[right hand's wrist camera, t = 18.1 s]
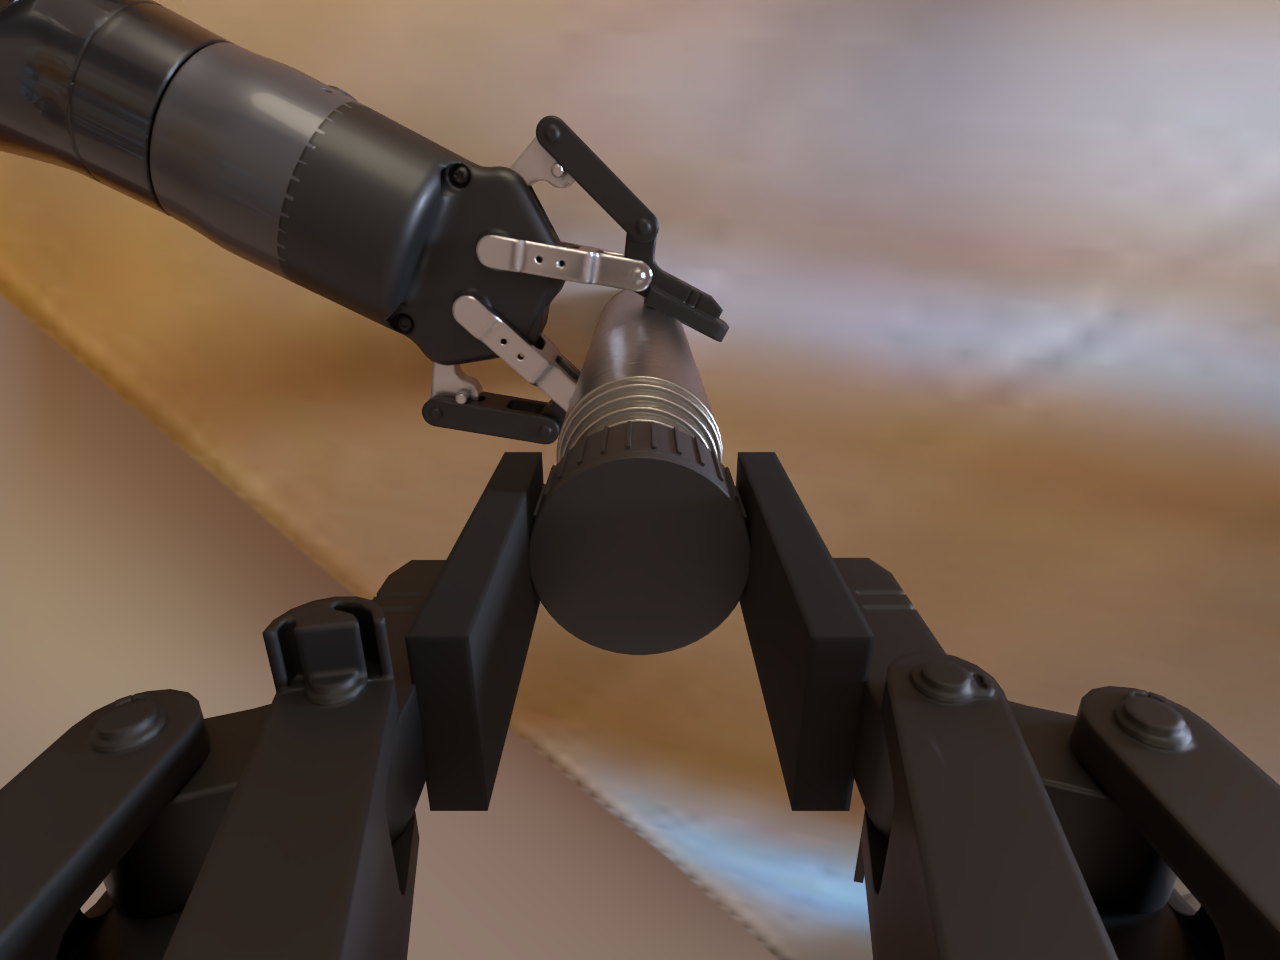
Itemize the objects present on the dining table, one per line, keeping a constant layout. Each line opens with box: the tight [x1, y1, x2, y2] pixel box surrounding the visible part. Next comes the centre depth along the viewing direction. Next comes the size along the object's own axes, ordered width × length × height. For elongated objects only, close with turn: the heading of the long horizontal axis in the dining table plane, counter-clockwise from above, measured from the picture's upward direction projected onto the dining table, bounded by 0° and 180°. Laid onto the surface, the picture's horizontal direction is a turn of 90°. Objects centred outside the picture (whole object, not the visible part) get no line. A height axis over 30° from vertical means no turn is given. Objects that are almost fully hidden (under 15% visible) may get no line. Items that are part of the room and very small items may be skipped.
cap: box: [529, 421, 751, 655], centre depth 14 cm, size 4×4×2 cm
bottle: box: [557, 290, 723, 464], centre depth 25 cm, size 4×4×25 cm
